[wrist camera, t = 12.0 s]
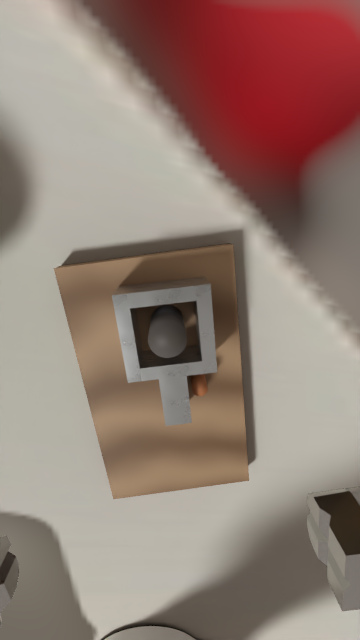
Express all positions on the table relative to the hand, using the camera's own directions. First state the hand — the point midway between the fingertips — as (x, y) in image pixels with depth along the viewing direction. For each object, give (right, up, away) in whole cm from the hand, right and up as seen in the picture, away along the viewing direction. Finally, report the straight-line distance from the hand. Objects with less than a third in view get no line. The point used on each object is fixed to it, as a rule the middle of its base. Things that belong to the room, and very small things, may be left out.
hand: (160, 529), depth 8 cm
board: (-1, 0, +18) cm, 18 cm away
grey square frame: (0, +4, +15) cm, 16 cm away
